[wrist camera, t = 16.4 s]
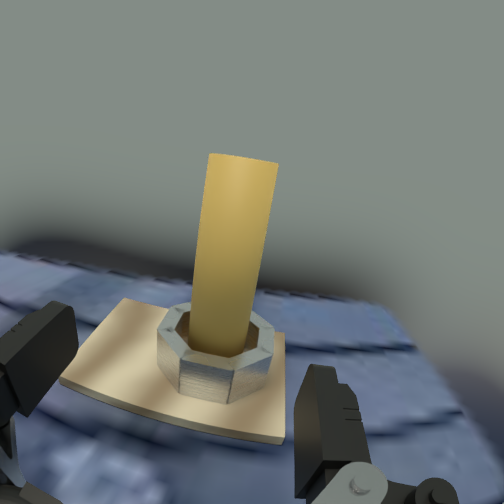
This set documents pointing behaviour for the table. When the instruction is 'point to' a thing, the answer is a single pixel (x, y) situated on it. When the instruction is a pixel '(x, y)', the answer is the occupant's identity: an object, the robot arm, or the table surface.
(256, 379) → the steel ring collar
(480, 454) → the table surface
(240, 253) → the ochre steel pin
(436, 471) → the table surface
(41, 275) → the table surface
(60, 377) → the birch board
